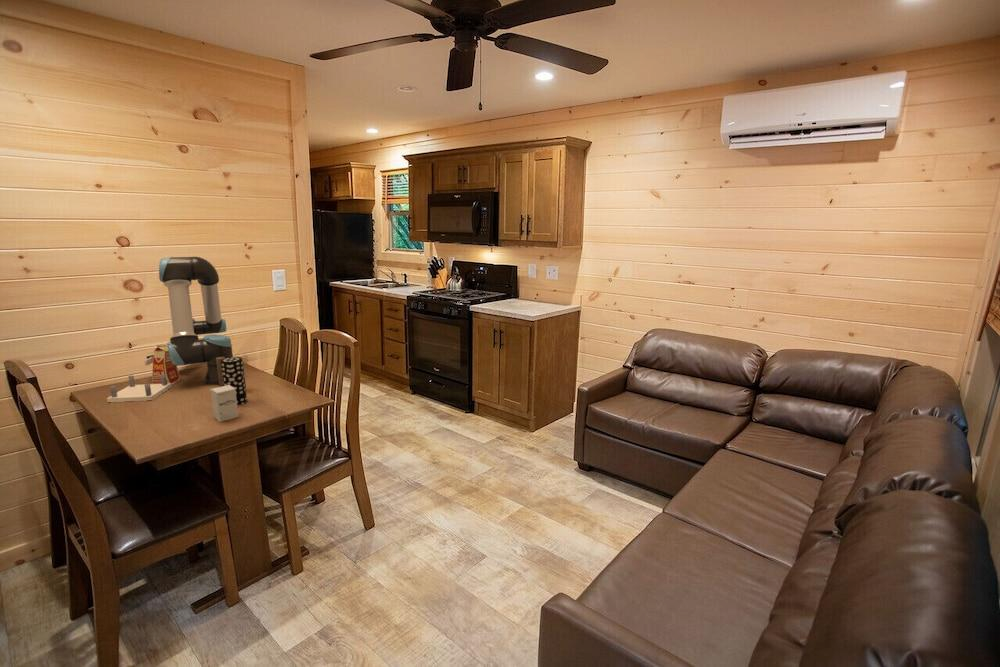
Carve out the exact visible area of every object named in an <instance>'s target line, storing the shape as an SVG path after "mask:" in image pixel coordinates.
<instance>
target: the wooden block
mask: <svg viewBox="0 0 1000 667" xmlns="http://www.w3.org/2000/svg"><path fill="white" fill-rule="evenodd" d="M222 359H225V357H218V358H216V362H217V370H218V378H219V385H218V386H219V387H222V386H224V385H223V377H222V370H221V362H220V361H221V360H222ZM244 367H245V366H244V365H243V372H244V380H245V381H246V374H245V368H244ZM245 388H246V389H247V385H246V382H245Z"/></svg>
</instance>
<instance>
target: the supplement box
mask: <svg viewBox="0 0 1000 667" xmlns="http://www.w3.org/2000/svg"><path fill="white" fill-rule="evenodd" d="M209 391H210V397H211V404H212V405H211V406H212V412H213V418H215V419H216V420H217V421H218V422H220V423H222V422H225V421H228V420H232V419H235V418H236V419H237V418H239V410H238V405H237V399H236V390H235V388H233V387H232V386H230V385H227V386H222V387H220V386H219V387H213V388H210V390H209Z"/></svg>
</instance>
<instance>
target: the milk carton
mask: <svg viewBox="0 0 1000 667" xmlns="http://www.w3.org/2000/svg"><path fill="white" fill-rule="evenodd" d="M153 355H154V356H153V363H152V372H151V373H152V374H151V379H152V380H151V384H162V381H161V375H163V374H166V380H167V384H169V383H171V384H172V383H174V382H176V381H178V380H180V381H181V377H180V372H179V369H178V366H176V365H174V364H173V363H172V361H171V358H170V354H169V351H168V347H167V344H163V345H162V344H161V345H159V344H157V345H156V348H155V349H154V350H153ZM178 382H179V381H178ZM176 383H177V382H176ZM174 384H175V383H174ZM172 385H173V384H172Z"/></svg>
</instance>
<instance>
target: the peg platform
mask: <svg viewBox="0 0 1000 667" xmlns="http://www.w3.org/2000/svg"><path fill="white" fill-rule="evenodd" d="M161 381H162V384H152V383H145V384H136V382H135V376H134V375H128V383H129V385H128V386H126V387H124V388H122V389H121V390H118V391H117V386H116V385H115V384H113V385H109V388H110V389H109V390H110V394H111V395H110V396H108V397H106V400H107V403H108V402H111V403H126V402H125V401H135V402H148V401H147V400H152V401H154V400H155V399H157V398H159V397H160V396H162V395H163V394H164V393H166V392H167V391H169V390H170V389H172V388H171V387H173V384H171V383H169V384H167V380H166V374H163V375H161ZM169 388H170V389H169ZM168 389H169V390H168ZM165 391H166V392H165ZM163 392H164V393H163ZM162 393H163V394H162ZM159 395H160V396H159ZM156 397H157V398H156ZM153 399H154V400H153Z"/></svg>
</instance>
